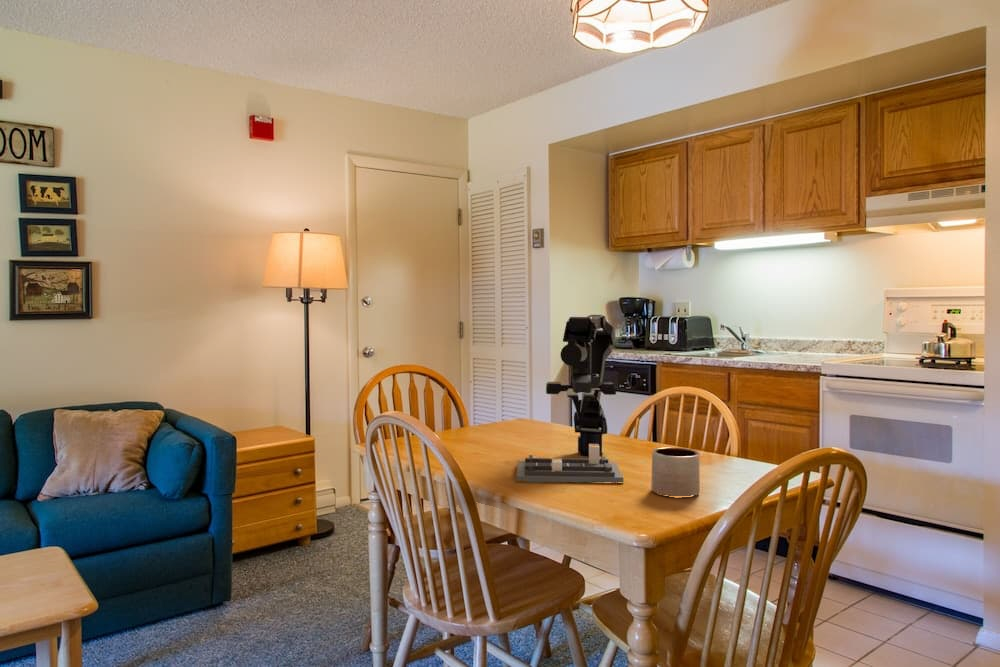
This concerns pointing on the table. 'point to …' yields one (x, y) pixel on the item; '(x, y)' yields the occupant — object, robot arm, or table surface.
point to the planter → (675, 471)
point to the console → (567, 470)
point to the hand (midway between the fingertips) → (580, 419)
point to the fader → (594, 454)
